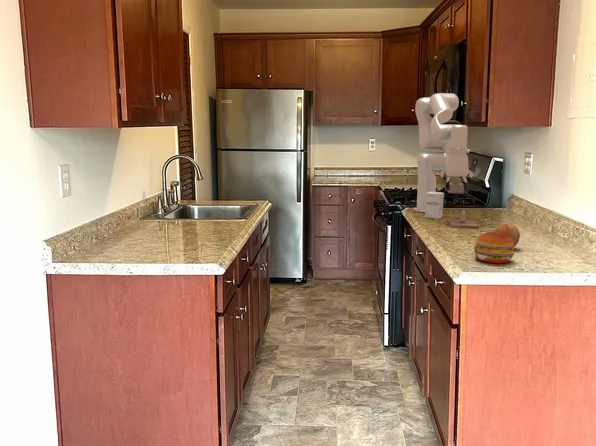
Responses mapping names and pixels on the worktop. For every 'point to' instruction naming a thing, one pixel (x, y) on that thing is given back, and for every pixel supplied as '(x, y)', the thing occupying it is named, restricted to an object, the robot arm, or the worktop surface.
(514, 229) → the onion
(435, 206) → the supplement box
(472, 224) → the keeper
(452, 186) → the link
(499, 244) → the burger
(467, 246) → the worktop surface
